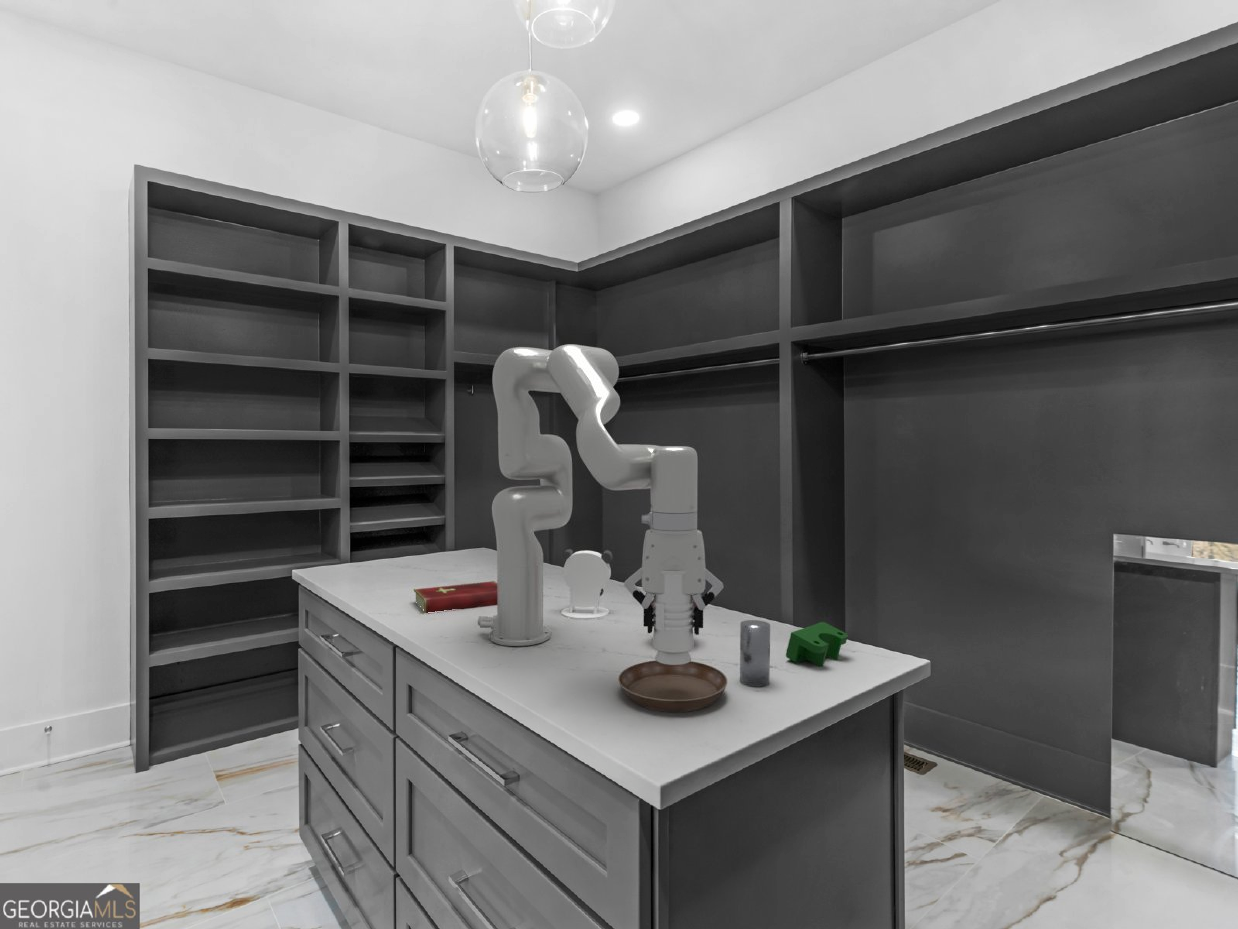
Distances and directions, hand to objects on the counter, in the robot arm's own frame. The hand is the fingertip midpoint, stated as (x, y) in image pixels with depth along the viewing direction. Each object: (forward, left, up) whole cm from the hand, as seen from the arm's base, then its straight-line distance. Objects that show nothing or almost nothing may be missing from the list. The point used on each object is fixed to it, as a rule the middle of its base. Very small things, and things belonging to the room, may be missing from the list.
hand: (673, 630), depth 105 cm
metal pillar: (+14, +7, -10) cm, 19 cm away
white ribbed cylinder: (0, 0, -5) cm, 5 cm away
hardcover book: (-54, +54, -11) cm, 77 cm away
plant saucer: (0, 0, -11) cm, 11 cm away
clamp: (+27, +20, -11) cm, 35 cm away
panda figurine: (-21, +48, -11) cm, 54 cm away
